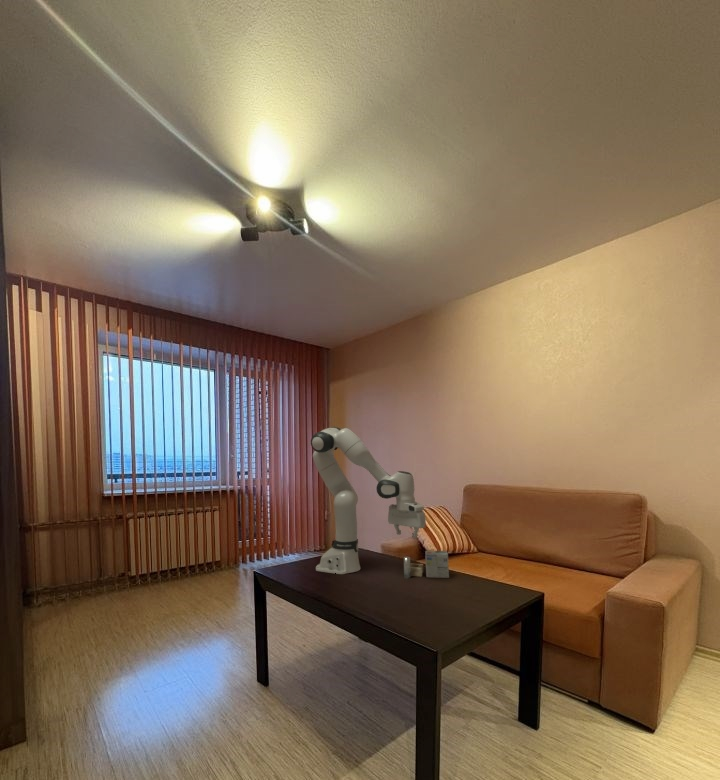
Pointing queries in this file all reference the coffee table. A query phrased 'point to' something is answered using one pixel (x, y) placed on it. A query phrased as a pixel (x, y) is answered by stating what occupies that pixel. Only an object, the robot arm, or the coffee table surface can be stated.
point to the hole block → (416, 569)
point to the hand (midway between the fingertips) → (406, 535)
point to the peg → (407, 567)
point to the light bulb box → (437, 564)
